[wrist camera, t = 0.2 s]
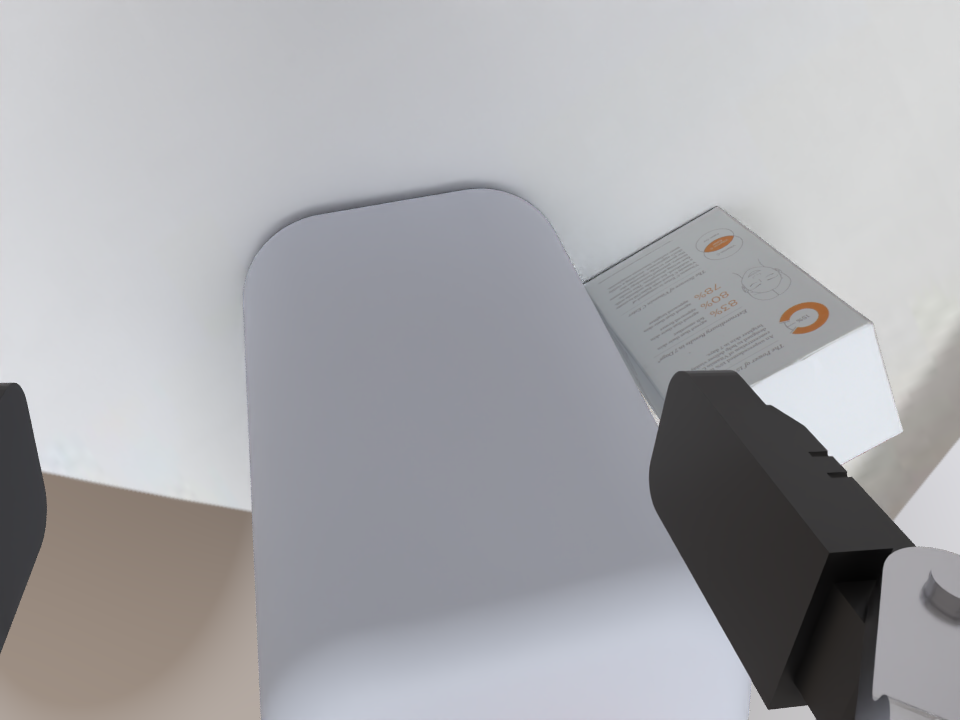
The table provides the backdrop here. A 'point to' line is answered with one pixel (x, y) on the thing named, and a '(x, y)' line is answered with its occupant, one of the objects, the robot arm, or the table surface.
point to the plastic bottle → (458, 483)
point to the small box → (748, 331)
